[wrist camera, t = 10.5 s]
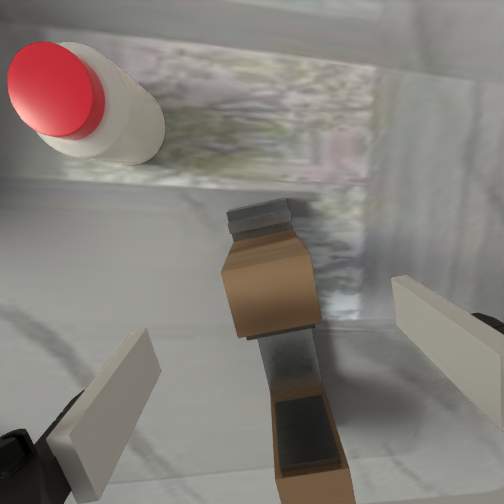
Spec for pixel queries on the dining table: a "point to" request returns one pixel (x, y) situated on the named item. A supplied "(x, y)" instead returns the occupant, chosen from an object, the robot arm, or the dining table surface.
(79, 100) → the pill bottle
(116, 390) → the robot arm
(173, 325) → the dining table surface
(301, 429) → the rail
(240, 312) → the brown wooden block
